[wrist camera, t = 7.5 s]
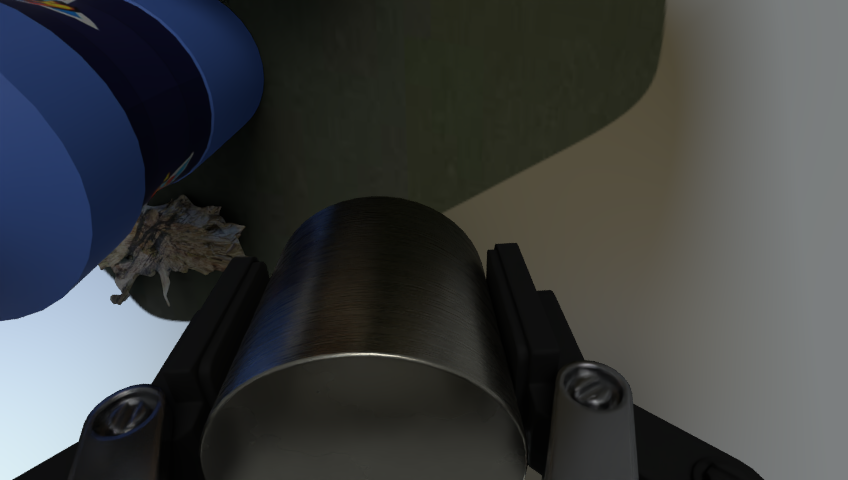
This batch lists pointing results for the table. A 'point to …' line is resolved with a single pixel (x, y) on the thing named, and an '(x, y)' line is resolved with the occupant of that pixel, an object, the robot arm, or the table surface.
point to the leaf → (173, 244)
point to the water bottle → (105, 125)
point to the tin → (370, 359)
